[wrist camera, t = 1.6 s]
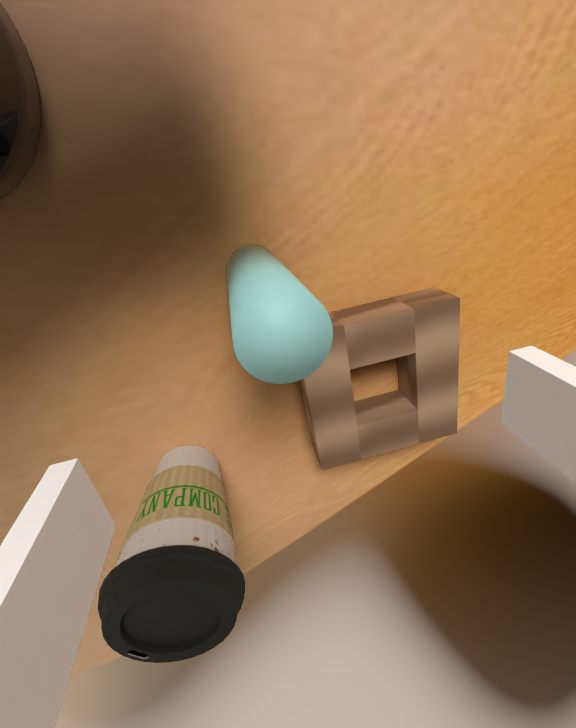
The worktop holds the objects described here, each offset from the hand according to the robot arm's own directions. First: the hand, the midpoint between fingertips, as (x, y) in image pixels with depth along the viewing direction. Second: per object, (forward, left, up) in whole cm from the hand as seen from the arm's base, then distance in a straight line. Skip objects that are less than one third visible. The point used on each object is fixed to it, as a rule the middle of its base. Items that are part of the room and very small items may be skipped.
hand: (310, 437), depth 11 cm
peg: (-1, 0, -22) cm, 22 cm away
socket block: (+11, +9, -22) cm, 26 cm away
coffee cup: (+17, -11, -22) cm, 30 cm away
